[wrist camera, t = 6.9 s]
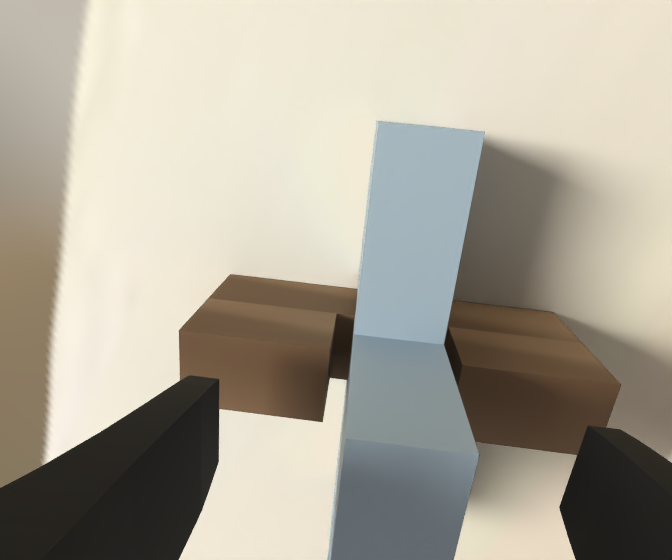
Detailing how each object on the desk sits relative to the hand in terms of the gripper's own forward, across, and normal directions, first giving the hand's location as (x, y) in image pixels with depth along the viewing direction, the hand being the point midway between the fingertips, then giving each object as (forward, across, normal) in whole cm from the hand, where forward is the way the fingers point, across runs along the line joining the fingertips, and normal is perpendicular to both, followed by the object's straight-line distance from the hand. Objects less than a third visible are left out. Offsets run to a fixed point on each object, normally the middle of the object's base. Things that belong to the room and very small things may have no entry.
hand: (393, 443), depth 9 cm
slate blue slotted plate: (+6, 0, 0) cm, 6 cm away
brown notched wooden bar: (+6, 0, 0) cm, 6 cm away
